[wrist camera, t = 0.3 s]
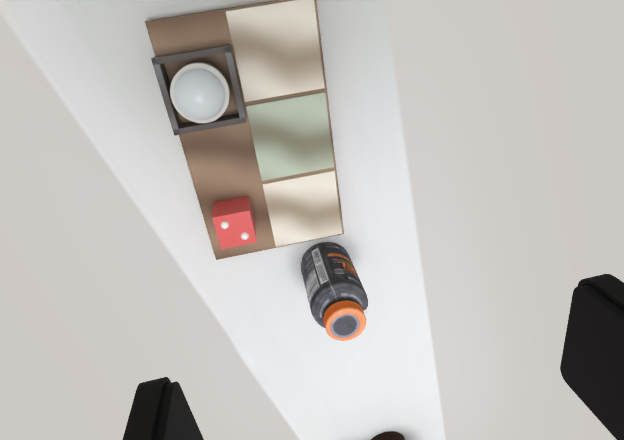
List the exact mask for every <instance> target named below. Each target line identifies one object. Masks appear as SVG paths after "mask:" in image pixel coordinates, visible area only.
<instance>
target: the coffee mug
mask: <svg viewBox="0 0 624 440" xmlns="http://www.w3.org/2000/svg"><path fill="white" fill-rule="evenodd" d="M371 440H405V439H404V437H403V435H402V434H400V433H398V432H384V433H381V434H379V435H377V436H375V437H374V438H372V439H371Z"/></svg>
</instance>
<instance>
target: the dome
mask: <svg viewBox="0 0 624 440" xmlns="http://www.w3.org/2000/svg"><path fill="white" fill-rule="evenodd" d="M229 95H230V89H229V84H228V81H227V79H226V77H225V75H224V74H223V73H222V72H221V70H220V69H218V68H217V67H216V66H214V65H212V64H210V63H207V62H202V61H197V62H191V63H189V64H187V65H185V66H184V67H182V68H181V69H180V70H179V71H178V72H177V73H176V75H175V76H174V78H173V80H172V82H171V87H170V96H171V100H172V103H173V105H174V107H175V108H176V110H177V111H178V112H179V113H180V114H181V115H182V116H183V117H184V118H186V119H188V120H190V121H192V122H196V123H209V122H212V121H215V120H216V119H218V118H219V117H221V115H222V114H223V113H224V112H225V110H226V109H227V106H228V103H229Z"/></svg>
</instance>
